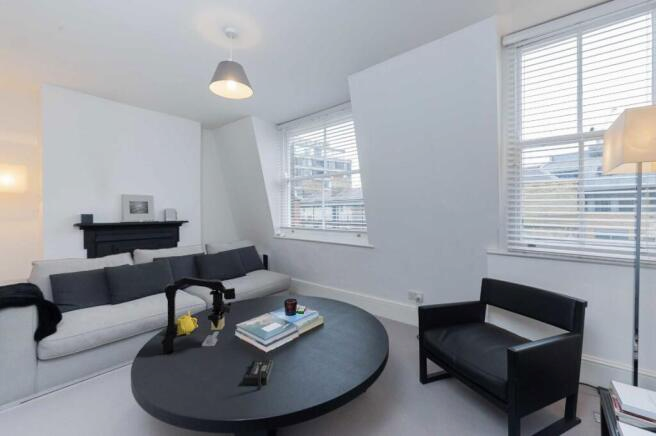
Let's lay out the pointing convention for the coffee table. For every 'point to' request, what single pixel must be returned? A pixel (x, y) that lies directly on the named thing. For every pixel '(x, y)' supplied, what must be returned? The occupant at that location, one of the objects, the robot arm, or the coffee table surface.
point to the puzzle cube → (301, 309)
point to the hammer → (210, 340)
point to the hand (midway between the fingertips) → (218, 325)
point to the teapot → (186, 324)
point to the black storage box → (259, 372)
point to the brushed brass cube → (220, 324)
